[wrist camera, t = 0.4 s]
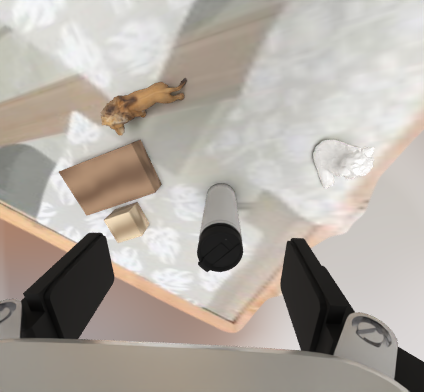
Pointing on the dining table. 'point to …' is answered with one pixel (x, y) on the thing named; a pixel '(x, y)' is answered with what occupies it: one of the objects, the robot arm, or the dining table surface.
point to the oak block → (127, 222)
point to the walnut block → (112, 178)
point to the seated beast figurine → (341, 161)
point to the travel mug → (220, 231)
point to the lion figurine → (137, 104)
